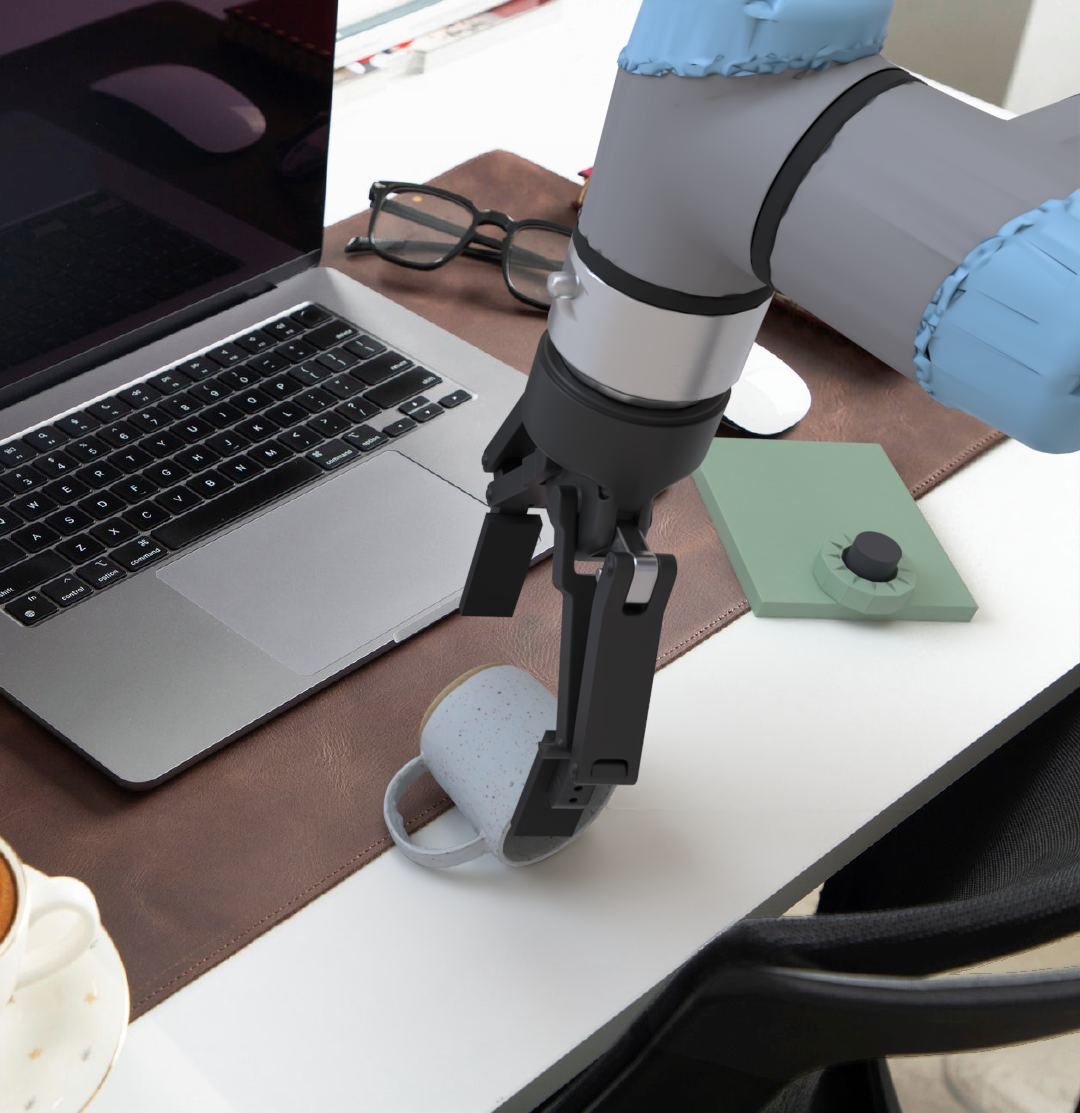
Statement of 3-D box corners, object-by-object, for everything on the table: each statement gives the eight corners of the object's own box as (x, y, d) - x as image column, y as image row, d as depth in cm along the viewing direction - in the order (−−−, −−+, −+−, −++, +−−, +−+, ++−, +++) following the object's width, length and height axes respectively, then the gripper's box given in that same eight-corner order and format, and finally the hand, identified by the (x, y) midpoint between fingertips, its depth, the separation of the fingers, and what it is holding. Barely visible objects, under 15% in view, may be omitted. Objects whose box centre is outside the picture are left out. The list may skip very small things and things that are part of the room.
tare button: (898, 583, 88) (909, 563, 87) (854, 582, 88) (865, 561, 87) (880, 552, 90) (891, 531, 89) (837, 551, 90) (848, 530, 89)
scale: (975, 633, 90) (997, 598, 88) (759, 628, 88) (776, 593, 86) (872, 458, 102) (889, 424, 100) (680, 451, 100) (694, 417, 98)
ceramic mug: (503, 723, 80) (533, 627, 75) (601, 831, 76) (641, 737, 70) (345, 796, 76) (366, 699, 71) (440, 916, 71) (470, 822, 66)
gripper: (483, 182, 64) (398, 534, 79) (627, 580, 46) (482, 941, 61) (647, 192, 65) (533, 538, 80) (849, 587, 47) (654, 941, 62)
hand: (511, 713), depth 70 cm, fingers open, 13 cm apart
